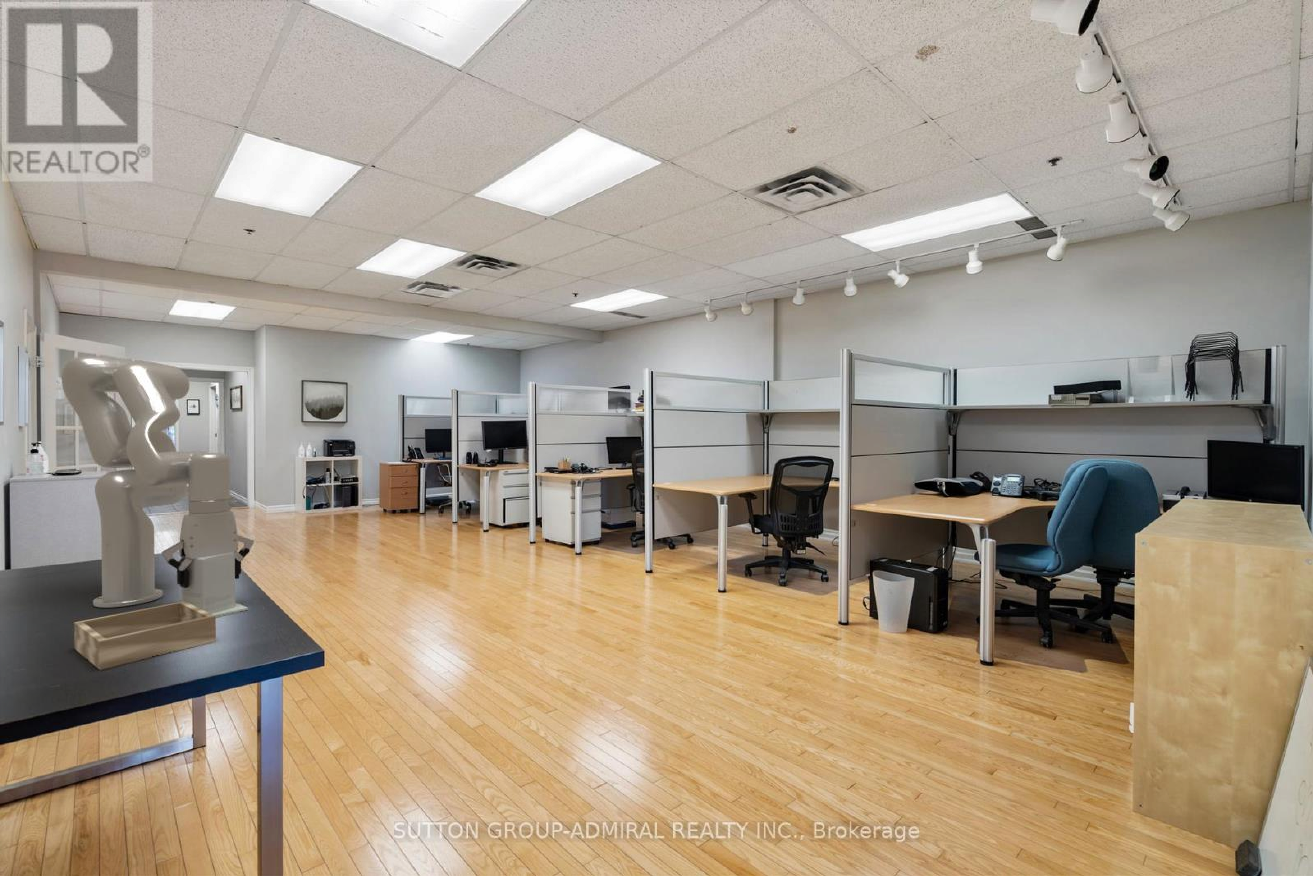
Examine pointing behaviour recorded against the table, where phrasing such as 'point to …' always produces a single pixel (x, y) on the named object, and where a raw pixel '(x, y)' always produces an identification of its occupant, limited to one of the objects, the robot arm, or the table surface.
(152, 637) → the crate
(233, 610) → the mat
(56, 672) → the table surface
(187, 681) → the table surface
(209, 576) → the supplement box
